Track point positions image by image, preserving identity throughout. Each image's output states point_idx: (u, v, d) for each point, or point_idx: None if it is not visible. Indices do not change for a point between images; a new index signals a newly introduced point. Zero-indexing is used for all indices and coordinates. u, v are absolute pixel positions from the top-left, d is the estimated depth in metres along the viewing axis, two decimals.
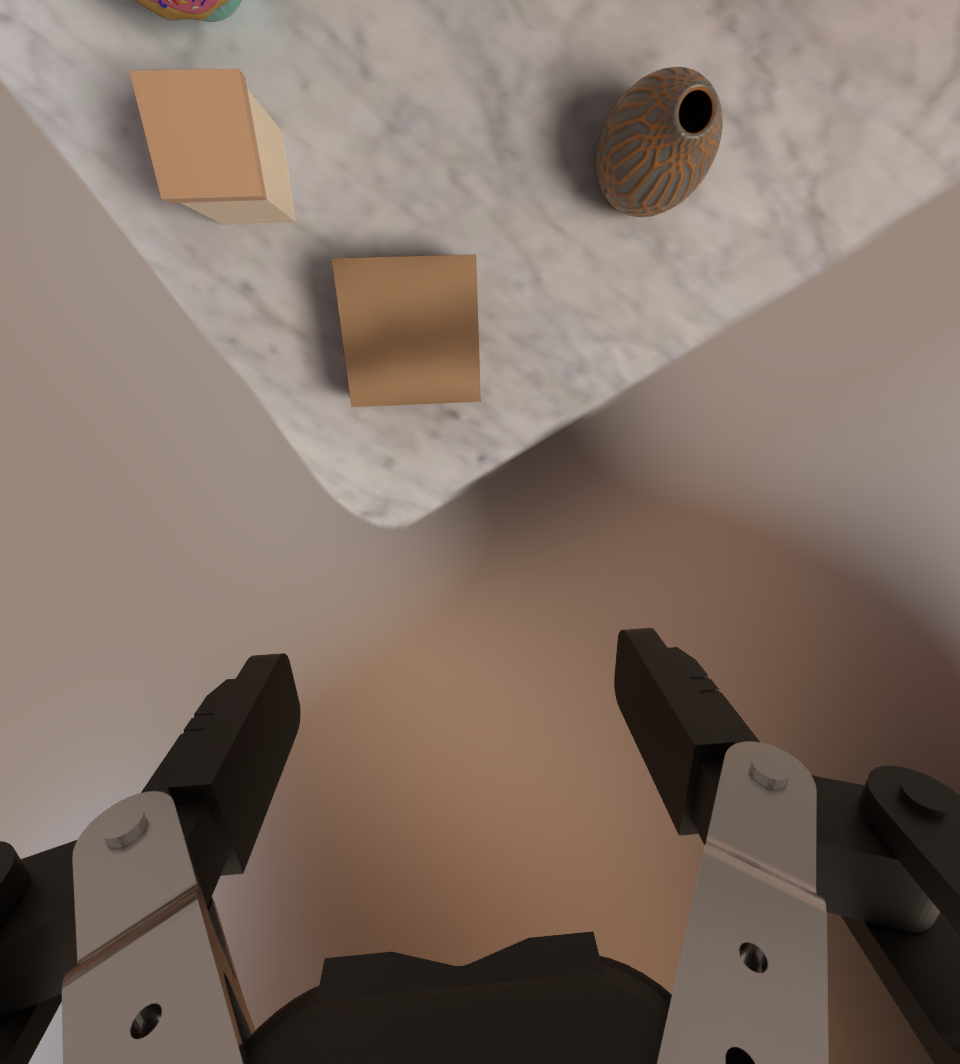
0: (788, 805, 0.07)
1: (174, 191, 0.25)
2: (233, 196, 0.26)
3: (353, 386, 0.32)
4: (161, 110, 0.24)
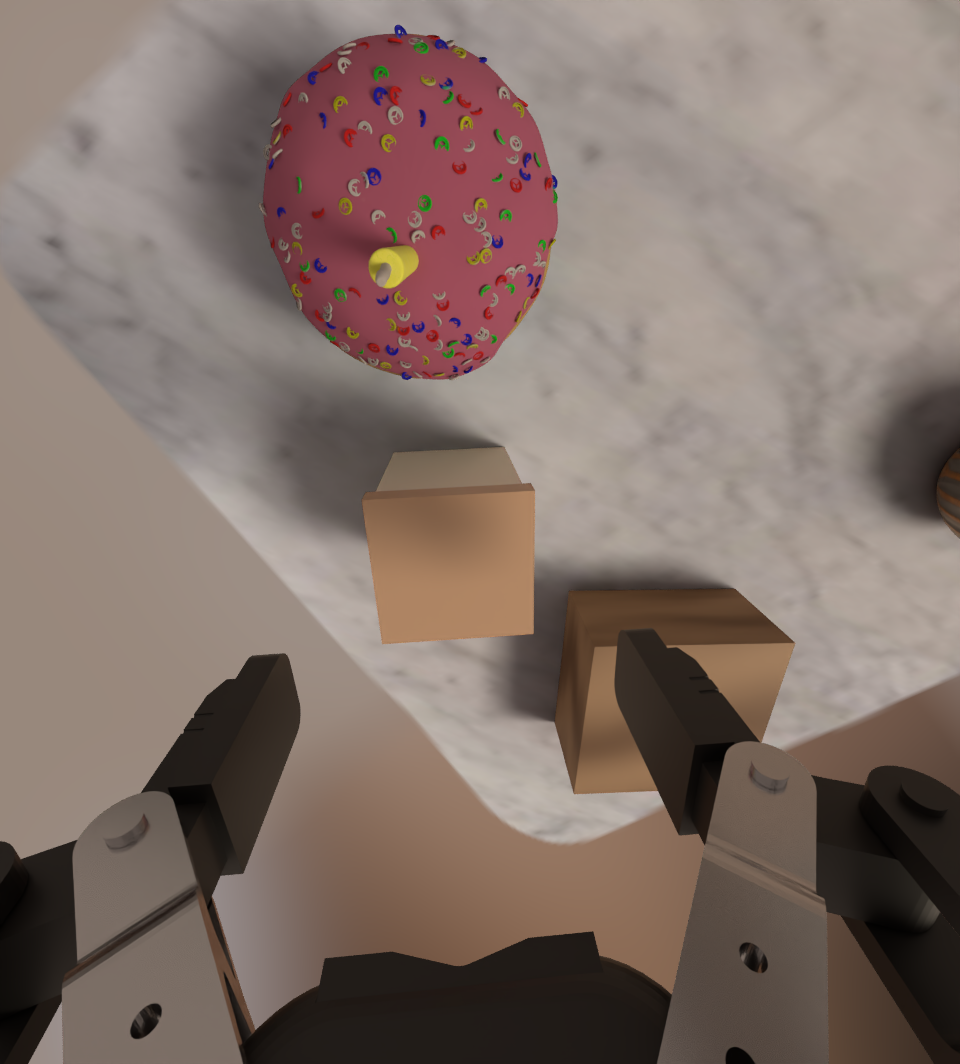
0: (788, 805, 0.07)
1: (403, 634, 0.17)
2: (491, 636, 0.17)
3: (583, 774, 0.23)
4: (402, 544, 0.15)
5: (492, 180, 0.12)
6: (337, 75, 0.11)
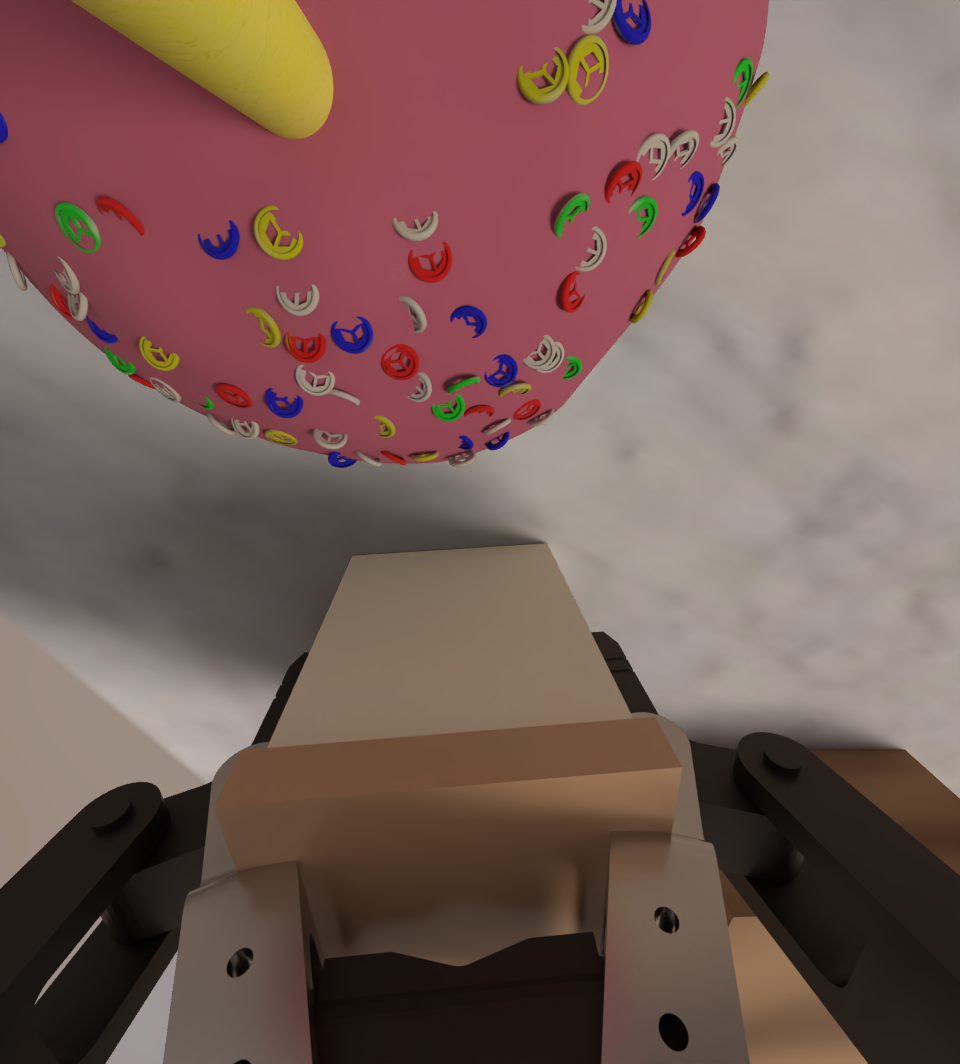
0: None
1: None
2: None
3: None
4: (335, 887, 0.06)
5: None
6: None
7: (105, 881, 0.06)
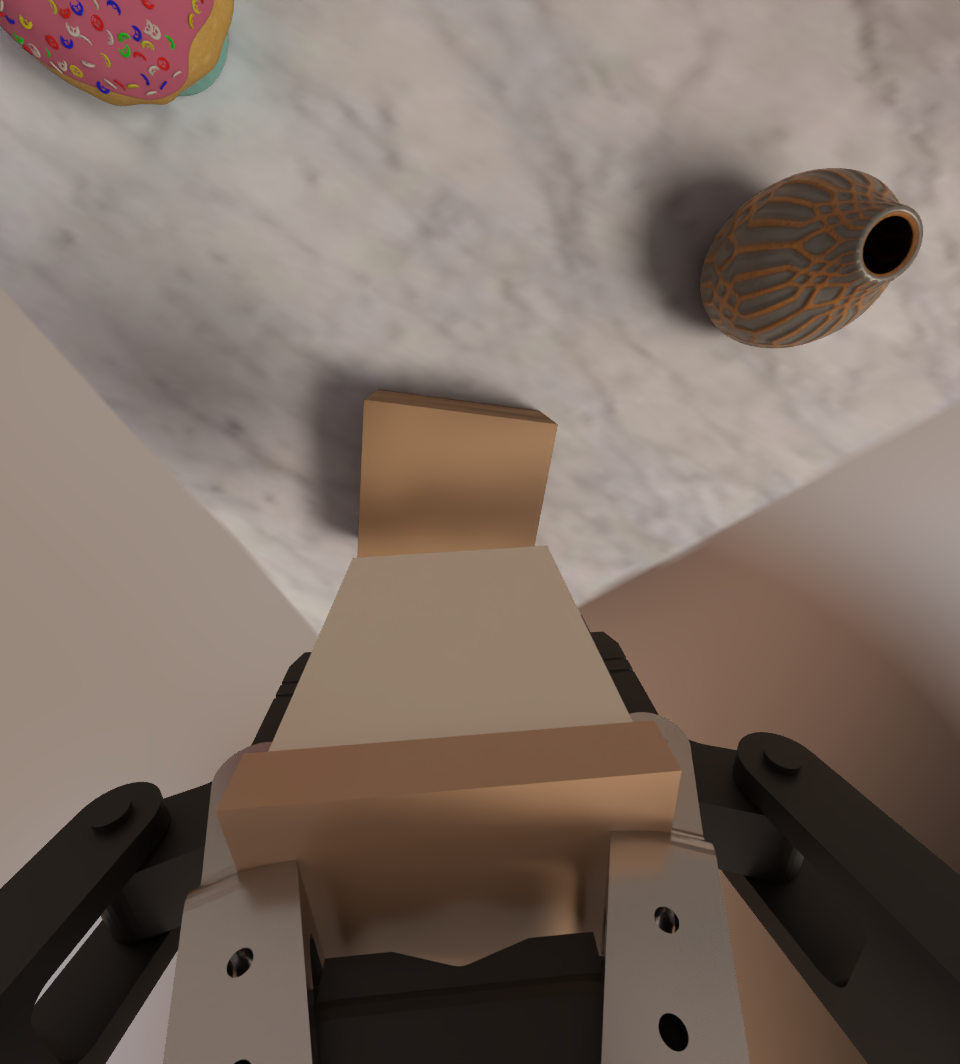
0: None
1: None
2: None
3: (363, 553, 0.24)
4: (336, 890, 0.06)
5: None
6: None
7: (105, 880, 0.06)
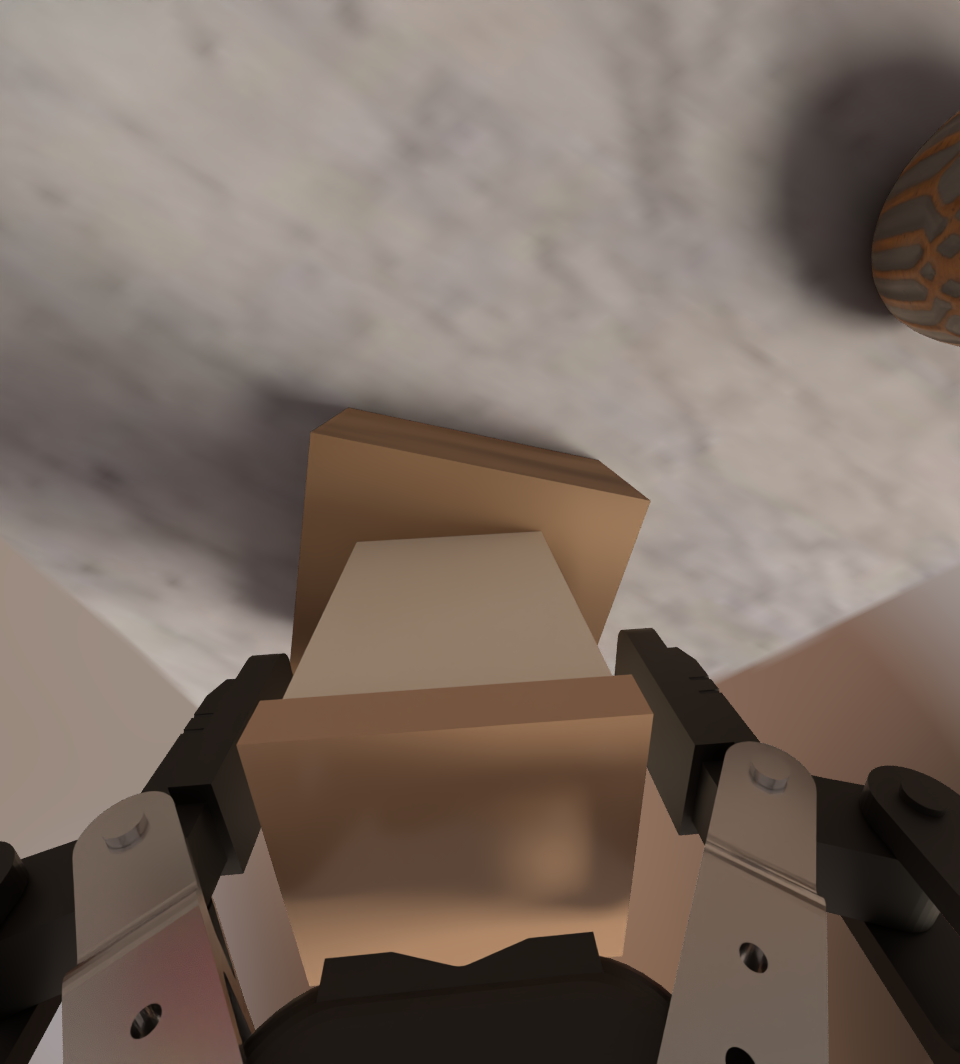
0: (788, 805, 0.07)
1: None
2: None
3: None
4: (343, 824, 0.07)
5: None
6: None
7: None
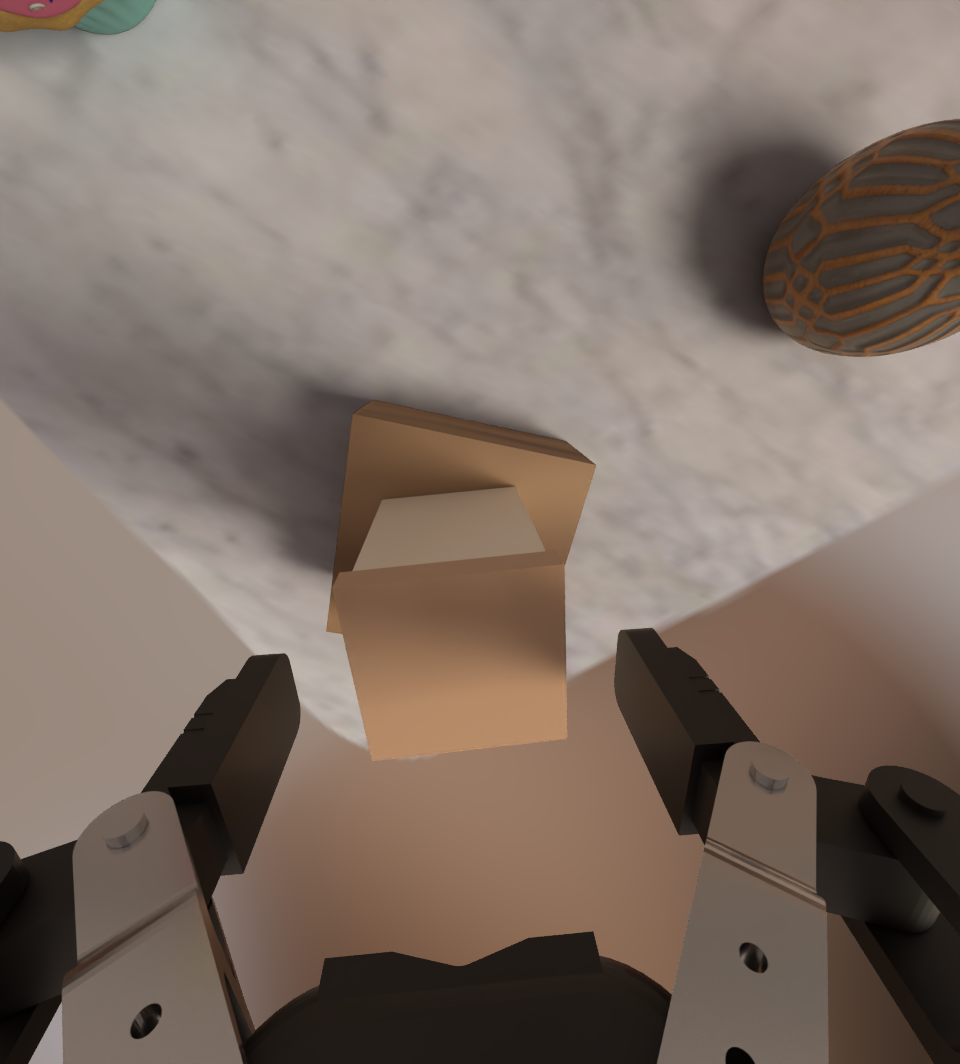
0: (788, 805, 0.07)
1: (398, 748, 0.13)
2: (512, 744, 0.13)
3: None
4: (391, 640, 0.11)
5: None
6: None
7: None
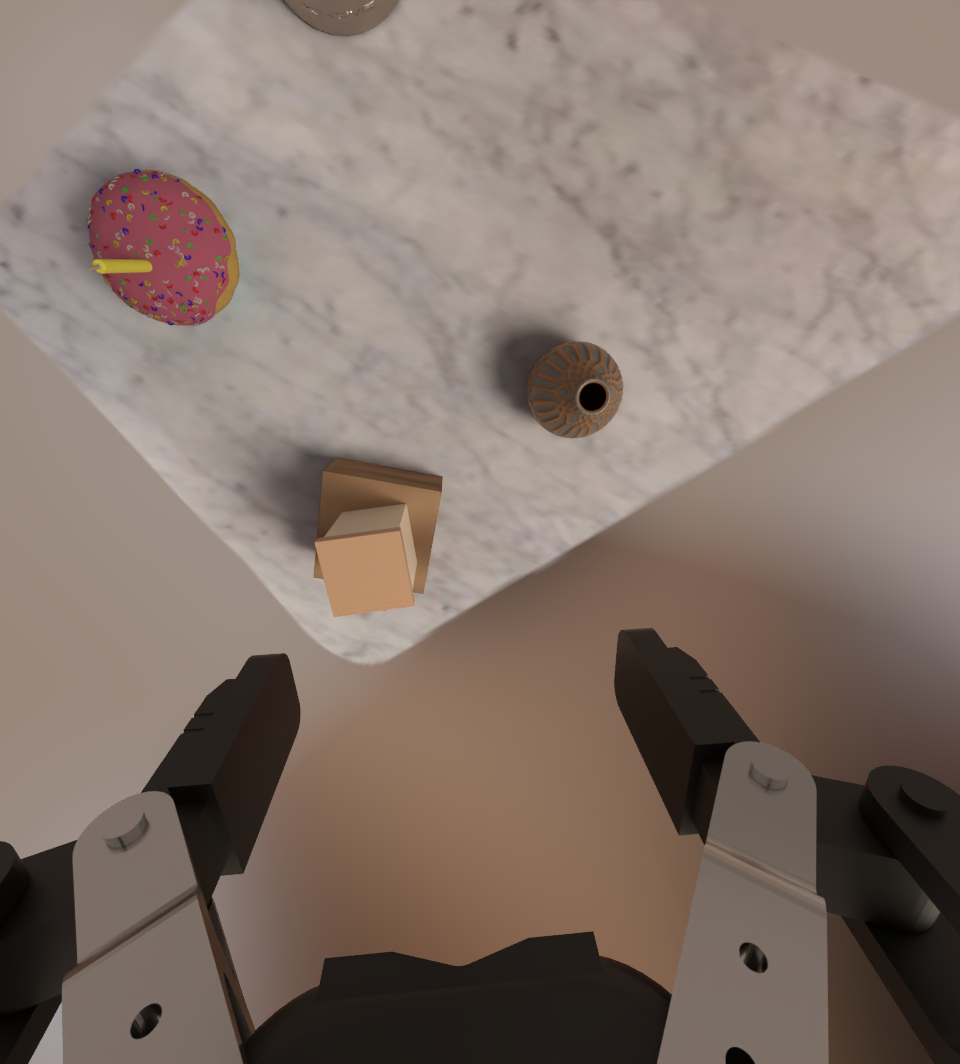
0: (788, 805, 0.07)
1: (344, 611, 0.31)
2: (391, 608, 0.31)
3: (318, 563, 0.38)
4: (337, 562, 0.30)
5: (181, 231, 0.28)
6: (109, 190, 0.27)
7: None
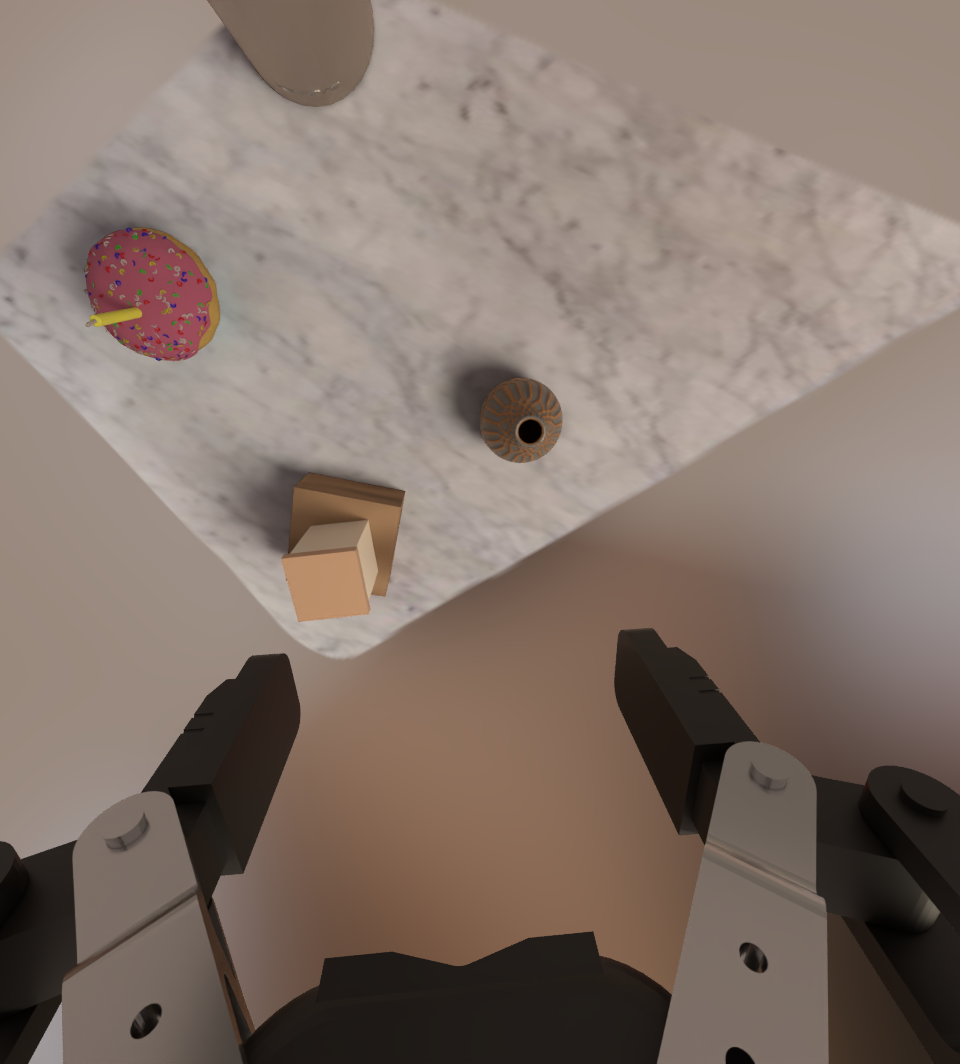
0: (788, 805, 0.07)
1: (307, 617, 0.36)
2: (348, 615, 0.36)
3: None
4: (301, 576, 0.35)
5: (167, 282, 0.32)
6: (104, 247, 0.31)
7: None
